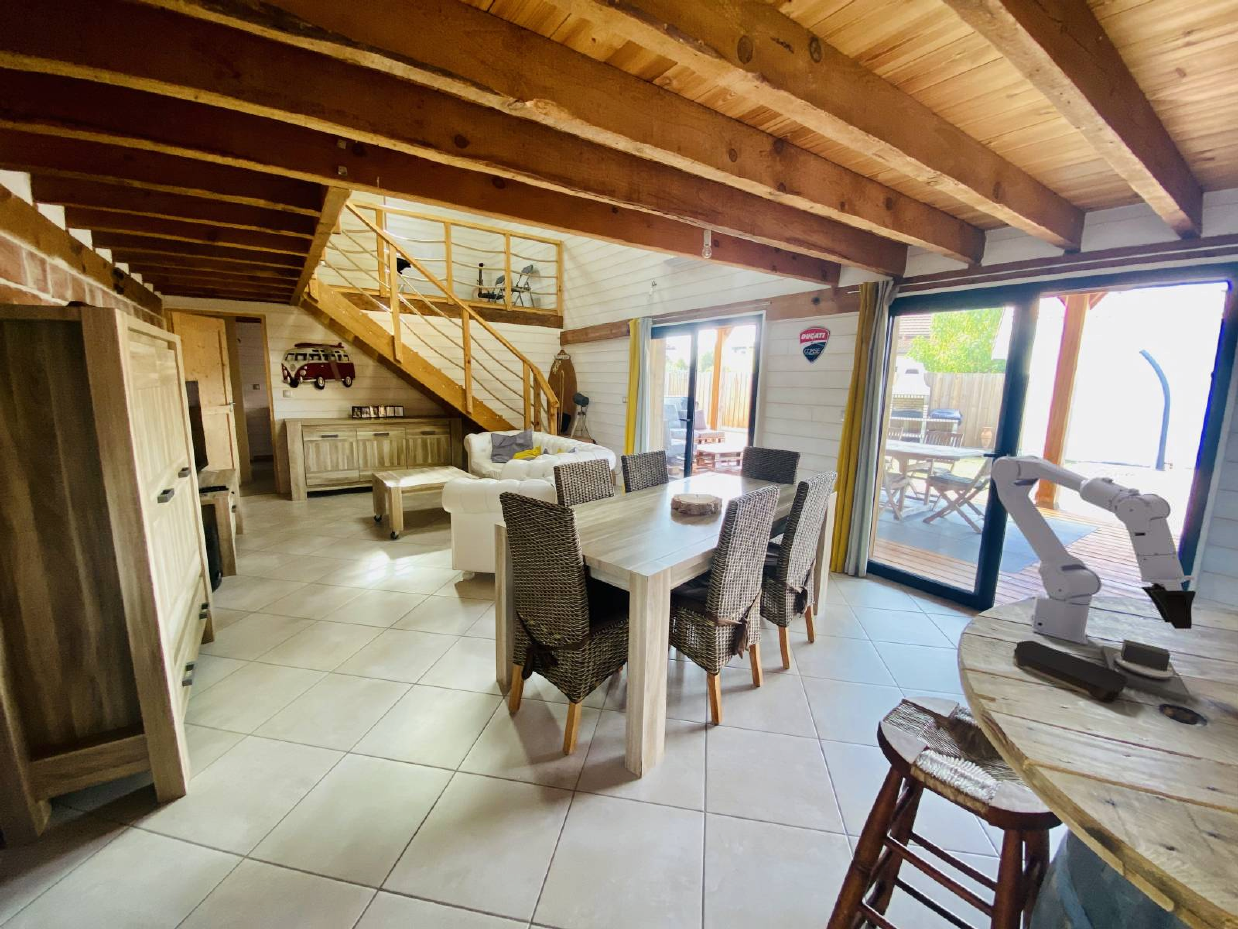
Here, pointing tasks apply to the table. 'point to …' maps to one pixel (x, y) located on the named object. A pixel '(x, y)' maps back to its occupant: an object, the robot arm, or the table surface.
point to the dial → (1144, 660)
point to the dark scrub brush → (1070, 671)
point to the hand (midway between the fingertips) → (1177, 625)
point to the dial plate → (1147, 679)
